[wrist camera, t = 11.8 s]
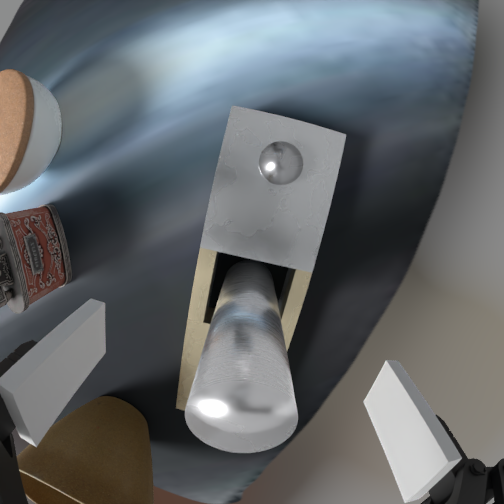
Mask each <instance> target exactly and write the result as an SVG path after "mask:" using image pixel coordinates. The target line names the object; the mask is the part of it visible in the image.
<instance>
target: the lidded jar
mask: <svg viewBox="0 0 504 504" xmlns="http://www.w3.org/2000/svg"><path fill="white" fill-rule="evenodd" d="M61 137H62V119H61V113H60V109H59V105H58V103H57V100H56V99H55V97H54V96H53V94H52V93H51V91H50V90H49V89H47V88H46V87H45V86H44V85H43V84H42V83H40V82H39V81H37V80H35V79H33V78H31V77H28V76H26V75H25V74H23V73H22V72H19V71H17V70H14V69H7V70H3V71H1V72H0V195H4V194H8V193H11V192H15V191H17V190H20V189H22V188H24V187H26V186H28V185H30V184H31V183H32V182H34V181H35V180H36V179H37V178H39V177H40V176H41V174H42V173H43V172H44V171H45V170H46V169H47V167H48V166H49V164H50V163H51V161H52V159H53V157H54V156H55V154H56V152H57V150H58V148H59V145H60V142H61Z"/></svg>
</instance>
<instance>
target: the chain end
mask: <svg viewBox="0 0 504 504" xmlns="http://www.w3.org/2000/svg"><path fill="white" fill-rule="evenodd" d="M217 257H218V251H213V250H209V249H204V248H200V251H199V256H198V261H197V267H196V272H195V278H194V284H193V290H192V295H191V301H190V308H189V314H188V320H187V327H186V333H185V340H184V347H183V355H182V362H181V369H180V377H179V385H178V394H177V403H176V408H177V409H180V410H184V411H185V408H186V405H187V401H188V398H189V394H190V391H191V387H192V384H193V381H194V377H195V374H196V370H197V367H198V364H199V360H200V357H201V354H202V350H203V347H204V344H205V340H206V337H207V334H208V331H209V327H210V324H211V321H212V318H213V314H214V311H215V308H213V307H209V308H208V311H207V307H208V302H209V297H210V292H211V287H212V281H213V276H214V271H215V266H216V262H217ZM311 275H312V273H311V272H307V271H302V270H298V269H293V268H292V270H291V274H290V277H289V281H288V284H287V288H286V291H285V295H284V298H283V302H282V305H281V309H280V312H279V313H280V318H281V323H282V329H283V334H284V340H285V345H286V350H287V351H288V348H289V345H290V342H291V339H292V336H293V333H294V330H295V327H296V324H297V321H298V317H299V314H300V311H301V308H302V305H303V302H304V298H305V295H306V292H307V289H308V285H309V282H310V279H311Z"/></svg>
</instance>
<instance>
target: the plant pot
mask: <svg viewBox="0 0 504 504" xmlns="http://www.w3.org/2000/svg"><path fill="white" fill-rule="evenodd" d="M17 462H18V467H19V471H20V476H21V480H22V484H23V488H24V491H25V495H26V496H27V497H28V498H29V499H31V500H32V501H33V502H34V503H36V504H153V503H154V501H153V500H154V498H153V472H152V458H151V448H150V439H149V431H148V425H147V422H146V420H145V418H144V417H143V415H142V414H141V413H140V412H139V411H138V410H137V409H136V408H135V407H133V406H132V405H130V404H129V403H127V402H125V401H123V400H121V399H118V398H115V397H111V396H101V397H98V398H96V399H94V400H92V401H90V402H88V403H87V404H85V405H83V406H81V407H80V408H78V409H76V410H75V411H73V412H71V413H70V414H68V415H67V416H65V417H64V418H62V419H61V420H60V421H58V422H57V423H55V424H54V425H53V426H51V427H50V428H49V430H48V431H47V433H46V434H45V435H44V437H43V438H42V440H41V441H40V443H39V444H38V446H37V447H35V446H34V445H32V444H29V445H28V446H27V447H26V448H25V449H24V450H23V451H22V452H21V453H20V454H19V455H18V456H17Z"/></svg>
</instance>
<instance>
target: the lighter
mask: <svg viewBox="0 0 504 504" xmlns="http://www.w3.org/2000/svg"><path fill="white" fill-rule="evenodd" d="M71 279H72V271H71V264H70V257H69V252H68V247H67V241H66V238H65V234H64V231H63V227H62V224H61V221H60V218H59V215H58V212H57V210H56V208H55V207H54V206H53V205H51V204H47V205H41V206H40V207H38V208H34V209H28V210H23V211H17V212H12V213H7V214H4V213H0V308H1V307H2V306H4V305H6V304H7V305H8V306H9V308H10V309H11V310H12V311H13V312H15V313H18V314H19V313H22V312H23V311H25V310H26V309H27V308H28V307H29V305H30V304H32V303H33V302H35V301H37V300H38V299H40V298H41V297H43V296H45V295H46V294H48V293H50V292H51V291H53V290H54V289H56V288H58V287H63V286H65V285H66V284H68V283H69V282H70V281H71Z"/></svg>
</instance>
